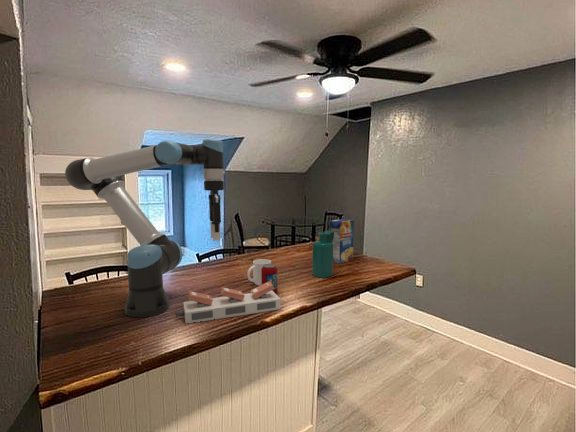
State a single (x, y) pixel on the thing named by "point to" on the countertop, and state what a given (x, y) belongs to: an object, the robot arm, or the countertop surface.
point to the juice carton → (342, 240)
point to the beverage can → (269, 275)
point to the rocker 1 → (200, 297)
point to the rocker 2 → (232, 293)
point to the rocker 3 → (262, 289)
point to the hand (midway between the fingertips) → (215, 238)
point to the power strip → (229, 307)
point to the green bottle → (323, 255)
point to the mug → (257, 270)
